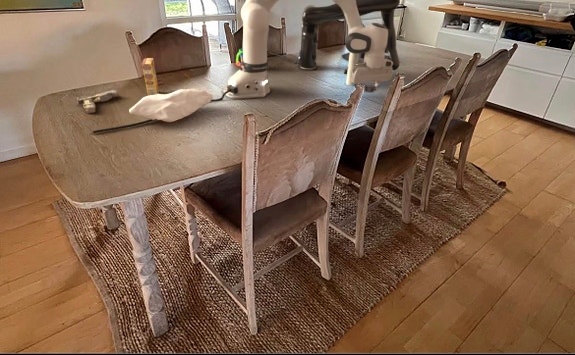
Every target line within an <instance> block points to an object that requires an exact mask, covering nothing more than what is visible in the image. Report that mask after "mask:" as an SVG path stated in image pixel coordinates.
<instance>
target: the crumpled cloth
mask: <svg viewBox="0 0 575 355" xmlns="http://www.w3.org/2000/svg"><path fill="white" fill-rule="evenodd" d="M213 97H214V96H213V94H212V93H210V92H208V91H206V90H203V89H201V88H187V89H186V88H185V89H184V88H183V89H177V90H175V91H173V92H171V93H167V94H163V93H158V94H156V95H150V96H148V95H146V96H144V97H142V98H141V99H140V100H139V101H138V102H137V103H136V104H134V105H133V106H132V107H131V108H129V114H130V115H135V116H140V117H145V118H146V119H148V120H150V119H152V120H155V119H158V121H163V122H166V123H174V122H176V121H178V120H181V119H183V118H185V117H188V116H190V115H192V114H193V113H195V112H196V111H197V110H199V109H200V108H202V107H204V106H206V105H207V104H210V102H212V101H211V100H213V99H214V98H213ZM155 121H156V120H155Z"/></svg>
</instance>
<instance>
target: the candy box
mask: <svg viewBox="0 0 575 355" xmlns="http://www.w3.org/2000/svg"><path fill="white" fill-rule="evenodd" d="M141 66H142V73H143V78H144V82H145V87H146V92H147V96H150V95H156V94H159V91H160V90H159V84H158V79H157V73H156V66H155V62H154V58H153V57H151V58H150V57H149V58H146V57H145V58H143V60H142V63H141Z"/></svg>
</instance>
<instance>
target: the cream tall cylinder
mask: <svg viewBox="0 0 575 355" xmlns="http://www.w3.org/2000/svg"><path fill="white" fill-rule="evenodd" d="M349 53H350V56H349V61H348V65H347V67H348V72H347V74H346V81H345V85H347V86H351V87H352V86H355V85H356V84H354V83H352V82H351V74H352V70H353V66H354V65H355V64H356V63H358V59H359V53H357V54H354V53H351V52H349Z"/></svg>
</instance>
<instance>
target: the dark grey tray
mask: <svg viewBox="0 0 575 355" xmlns="http://www.w3.org/2000/svg"><path fill="white" fill-rule="evenodd" d="M349 56H350V52H347V53H343V54H342V55H341V58H343V60H346V61H348V62H349ZM364 57H365V53H359V59H358V63H363V62H364ZM384 58H390V56H389V55H386V54H385V57H384Z"/></svg>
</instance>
